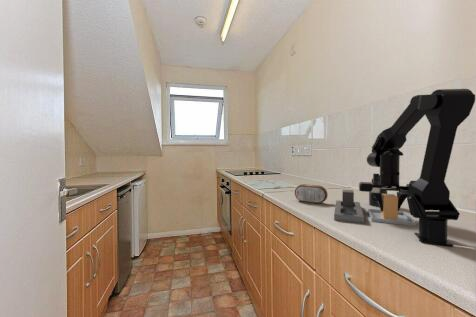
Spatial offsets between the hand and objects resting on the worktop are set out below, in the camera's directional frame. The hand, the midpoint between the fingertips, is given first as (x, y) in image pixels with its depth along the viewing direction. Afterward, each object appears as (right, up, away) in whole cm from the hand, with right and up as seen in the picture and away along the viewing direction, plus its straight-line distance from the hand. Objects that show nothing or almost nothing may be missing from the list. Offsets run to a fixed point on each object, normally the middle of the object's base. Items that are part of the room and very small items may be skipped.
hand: (389, 212), depth 78 cm
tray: (0, -2, 0) cm, 2 cm away
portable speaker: (-19, -2, +27) cm, 33 cm away
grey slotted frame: (-11, -2, +7) cm, 13 cm away
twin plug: (-9, -2, +12) cm, 15 cm away
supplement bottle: (+8, -2, +18) cm, 20 cm away
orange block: (0, -2, 0) cm, 2 cm away
